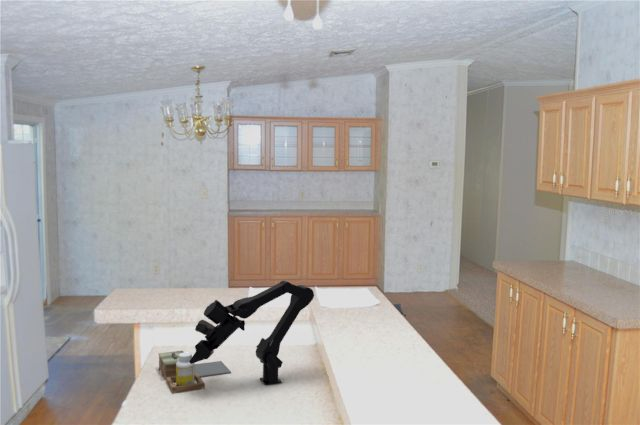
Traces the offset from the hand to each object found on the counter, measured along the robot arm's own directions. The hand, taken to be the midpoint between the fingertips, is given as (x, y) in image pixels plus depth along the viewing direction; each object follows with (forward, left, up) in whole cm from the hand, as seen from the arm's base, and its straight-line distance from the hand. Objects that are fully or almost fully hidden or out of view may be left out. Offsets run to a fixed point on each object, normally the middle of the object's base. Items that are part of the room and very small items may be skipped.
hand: (194, 358), depth 196 cm
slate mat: (+15, -9, -10) cm, 20 cm away
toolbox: (+10, +3, -10) cm, 15 cm away
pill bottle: (+2, +3, -10) cm, 11 cm away
